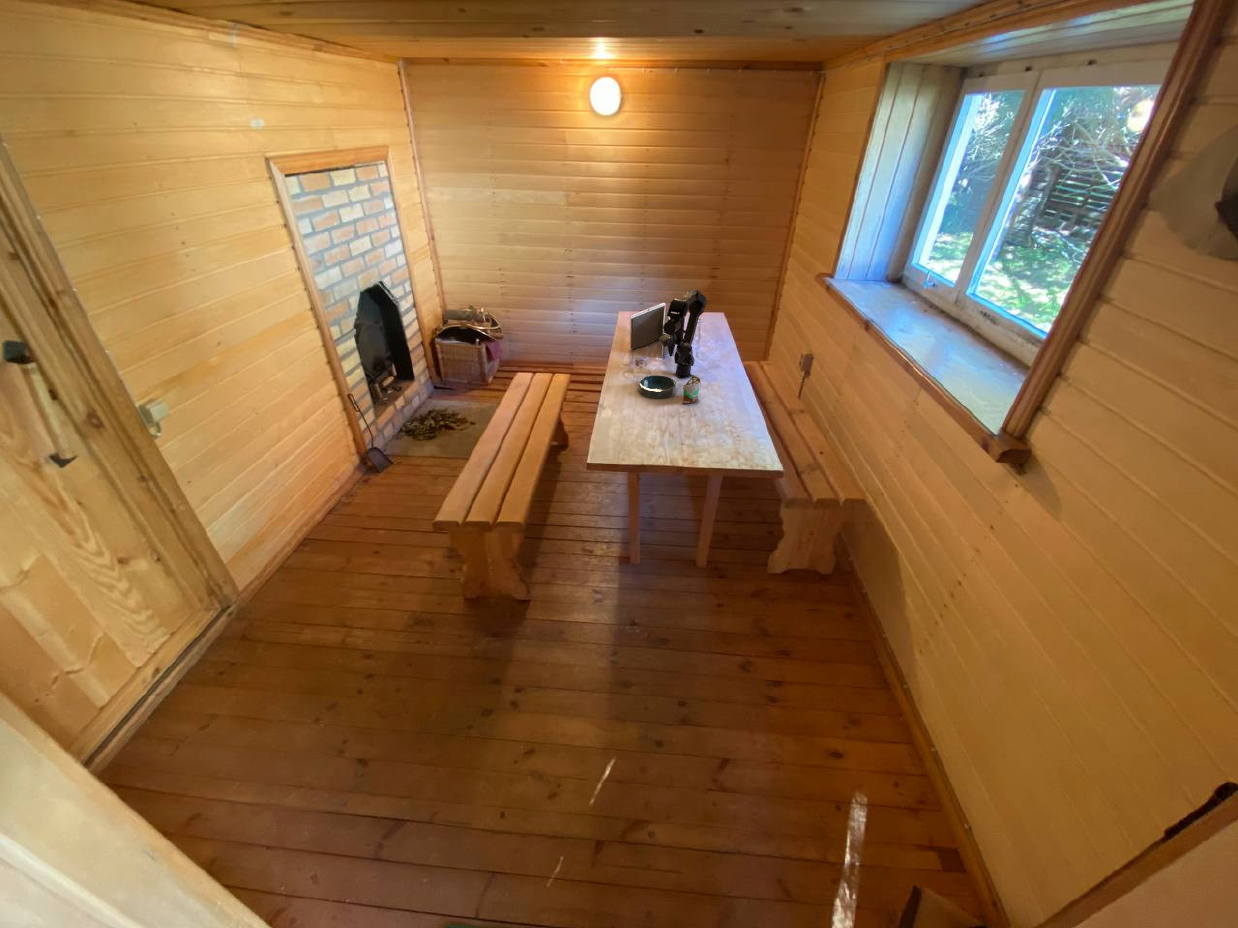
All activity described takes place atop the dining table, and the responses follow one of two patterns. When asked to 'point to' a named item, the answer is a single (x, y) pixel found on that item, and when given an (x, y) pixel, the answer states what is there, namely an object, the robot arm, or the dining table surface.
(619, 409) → the dining table surface
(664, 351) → the silver laptop
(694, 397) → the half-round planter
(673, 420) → the dining table surface
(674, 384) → the bowl
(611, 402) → the dining table surface
